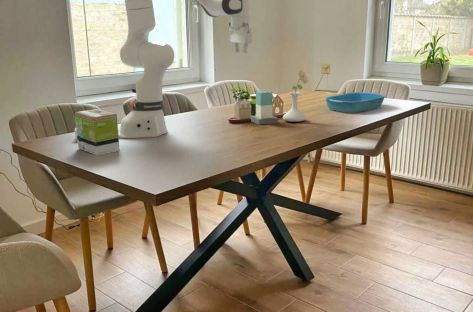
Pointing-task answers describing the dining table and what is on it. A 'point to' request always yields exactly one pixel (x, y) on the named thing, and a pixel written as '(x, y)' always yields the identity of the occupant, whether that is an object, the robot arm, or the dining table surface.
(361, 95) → the casserole dish
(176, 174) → the dining table surface
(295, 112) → the flower in vase
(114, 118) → the tea box
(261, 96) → the teal block
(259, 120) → the plate
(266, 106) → the cream block
